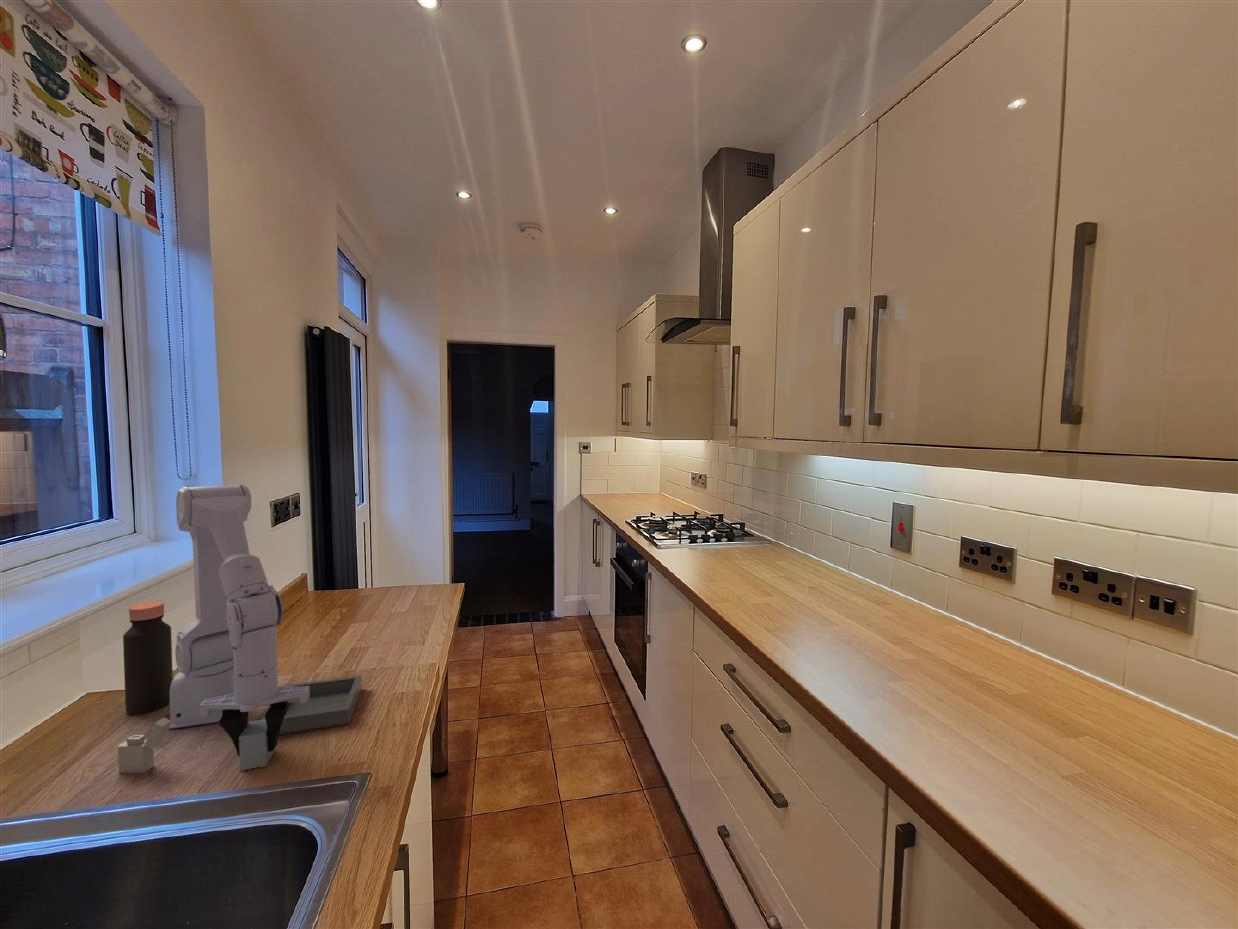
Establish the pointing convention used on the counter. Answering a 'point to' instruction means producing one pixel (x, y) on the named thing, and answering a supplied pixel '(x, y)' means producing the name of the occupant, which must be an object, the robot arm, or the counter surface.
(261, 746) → the tall grey cuboid
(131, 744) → the lighter
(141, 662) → the bottle
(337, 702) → the dark grey square tray
